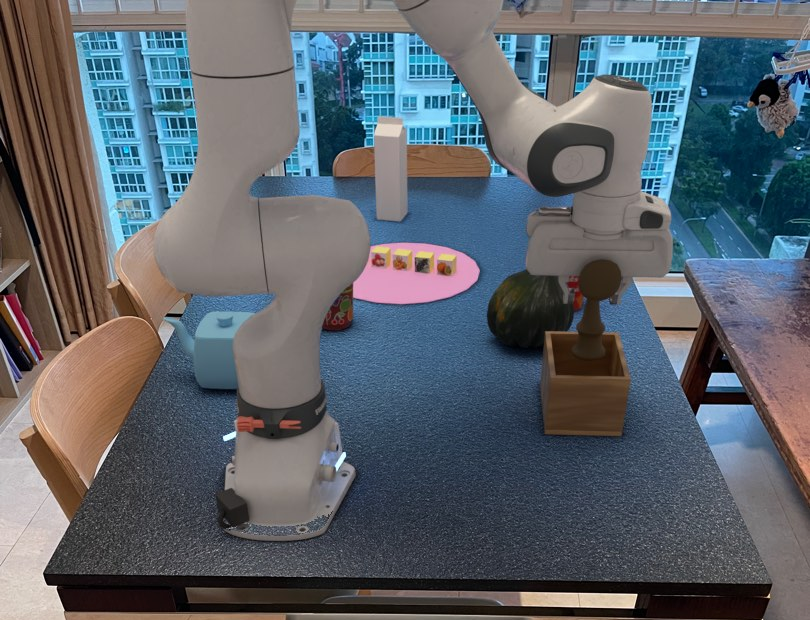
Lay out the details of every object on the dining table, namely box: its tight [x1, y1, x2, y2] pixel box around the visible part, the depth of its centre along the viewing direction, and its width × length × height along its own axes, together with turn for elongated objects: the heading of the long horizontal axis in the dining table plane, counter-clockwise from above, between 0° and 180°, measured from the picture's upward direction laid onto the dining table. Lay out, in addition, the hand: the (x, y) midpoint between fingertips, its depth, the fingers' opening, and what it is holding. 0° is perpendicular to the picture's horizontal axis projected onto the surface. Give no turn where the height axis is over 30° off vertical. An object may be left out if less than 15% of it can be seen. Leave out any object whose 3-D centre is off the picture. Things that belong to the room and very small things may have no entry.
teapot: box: [162, 311, 255, 390], centre depth 146 cm, size 12×18×12 cm
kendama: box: [572, 259, 622, 361], centre depth 128 cm, size 6×10×20 cm, turn 179°
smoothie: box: [322, 283, 354, 331], centre depth 159 cm, size 8×8×20 cm
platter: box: [353, 242, 481, 306], centre depth 182 cm, size 32×32×3 cm
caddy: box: [539, 331, 632, 437], centre depth 137 cm, size 15×12×10 cm
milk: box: [373, 115, 409, 223], centre depth 202 cm, size 6×6×22 cm
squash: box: [486, 268, 575, 349], centre depth 155 cm, size 14×15×15 cm
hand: (591, 302), depth 129 cm, fingers closed on kendama, 5 cm apart
